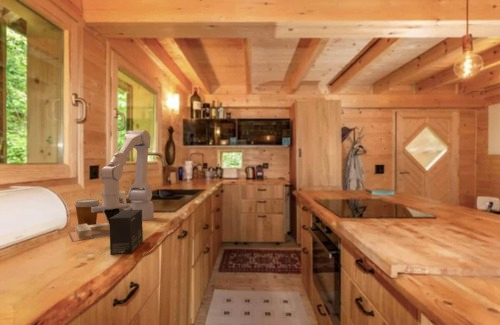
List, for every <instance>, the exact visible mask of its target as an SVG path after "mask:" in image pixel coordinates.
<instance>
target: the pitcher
mask: <svg viewBox="0 0 500 325" xmlns="http://www.w3.org/2000/svg"><path fill="white" fill-rule="evenodd" d="M126 193H127V192H126V191H124V190H119V204H127V199H129V198H128V194H127V195H126ZM97 194H98V195H100V196H101V197H102V203H101V206H103V205H104V191H100V192H97ZM130 204H131V208H129V209H128V208H126V209H119V210H120V212H121V211H123V210H132V203H131V202H130ZM102 212H103V214H104V217H105V218H106V219H107V217H106V215H105V213H104V211H102ZM120 212H119V213H120Z"/></svg>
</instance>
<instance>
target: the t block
mask: <svg viewBox="0 0 500 325" xmlns="http://www.w3.org/2000/svg"><path fill="white" fill-rule="evenodd" d="M74 228H75V229H74V231H75V233H76V235H77V237H78V239H85V238H91V235H93V234H100V233H106V232H110V224H109V222H104V223H102V222H101V223H96V224H95V225H88V224H87V223H86V224H79V225H78V224H75V225H74Z"/></svg>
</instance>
